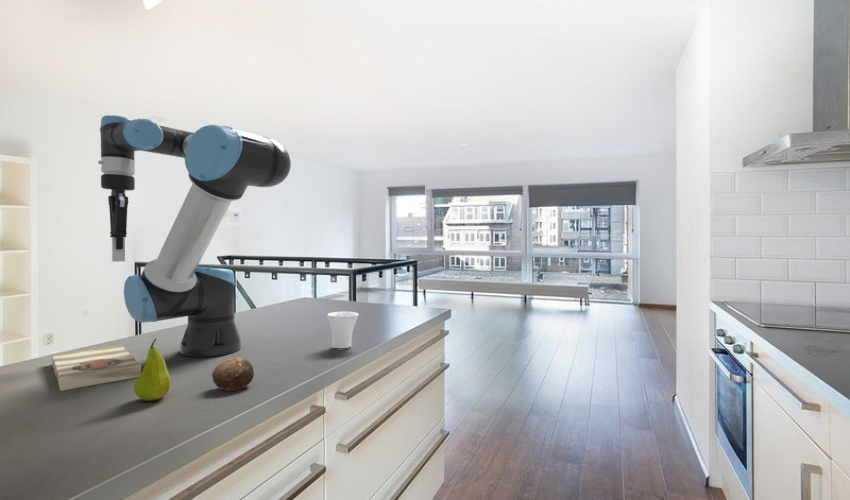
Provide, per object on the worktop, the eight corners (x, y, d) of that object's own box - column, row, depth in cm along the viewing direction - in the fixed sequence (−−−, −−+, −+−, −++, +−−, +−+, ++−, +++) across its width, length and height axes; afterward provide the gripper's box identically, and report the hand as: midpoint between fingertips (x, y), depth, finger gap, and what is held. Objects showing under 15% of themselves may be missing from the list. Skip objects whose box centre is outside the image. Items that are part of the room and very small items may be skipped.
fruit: (146, 393, 88) (146, 334, 88) (178, 393, 88) (178, 334, 88) (126, 405, 82) (126, 341, 81) (160, 405, 82) (160, 342, 82)
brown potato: (223, 364, 97) (227, 346, 94) (257, 377, 98) (262, 359, 95) (202, 392, 91) (206, 373, 87) (239, 406, 91) (244, 387, 88)
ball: (110, 376, 100) (114, 360, 101) (99, 372, 97) (104, 356, 98) (95, 377, 100) (99, 362, 101) (83, 373, 97) (88, 358, 98)
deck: (52, 364, 106) (52, 354, 106) (121, 354, 116) (121, 345, 116) (60, 390, 89) (60, 378, 89) (141, 376, 98) (141, 365, 98)
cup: (320, 349, 124) (320, 314, 124) (338, 342, 133) (338, 309, 132) (346, 353, 121) (347, 317, 120) (363, 345, 129) (364, 311, 129)
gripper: (97, 175, 121) (98, 260, 122) (104, 170, 112) (105, 263, 112) (129, 178, 126) (130, 259, 127) (139, 174, 117) (139, 262, 118)
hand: (118, 261), depth 120 cm, fingers closed
